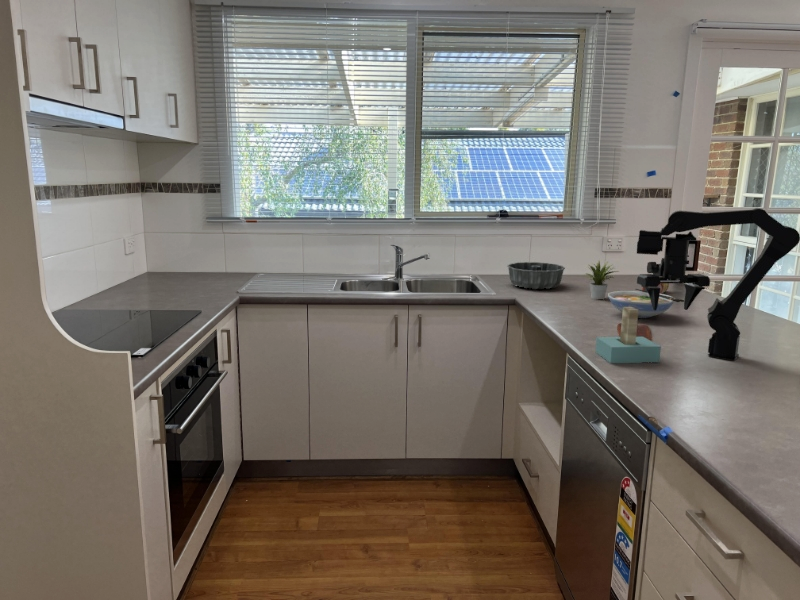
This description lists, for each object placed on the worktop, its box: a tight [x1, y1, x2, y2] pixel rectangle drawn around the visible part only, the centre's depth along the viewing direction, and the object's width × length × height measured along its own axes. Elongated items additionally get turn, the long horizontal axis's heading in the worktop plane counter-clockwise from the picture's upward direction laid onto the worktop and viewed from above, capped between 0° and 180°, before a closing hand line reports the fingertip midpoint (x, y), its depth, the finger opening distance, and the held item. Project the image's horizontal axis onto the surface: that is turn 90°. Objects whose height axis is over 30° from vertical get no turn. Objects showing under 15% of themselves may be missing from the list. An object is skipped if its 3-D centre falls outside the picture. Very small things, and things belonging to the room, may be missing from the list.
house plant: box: [585, 260, 620, 300], centre depth 234 cm, size 14×14×16 cm
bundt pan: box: [507, 261, 566, 290], centre depth 264 cm, size 26×26×10 cm
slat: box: [620, 307, 639, 345], centre depth 155 cm, size 4×2×14 cm, turn 5°
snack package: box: [641, 283, 670, 294], centre depth 245 cm, size 21×7×7 cm, turn 142°
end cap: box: [595, 336, 662, 364], centre depth 156 cm, size 10×14×4 cm
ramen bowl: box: [607, 288, 685, 319], centre depth 205 cm, size 25×23×8 cm
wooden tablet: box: [616, 322, 653, 342], centre depth 180 cm, size 27×10×2 cm, turn 160°
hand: (670, 309), depth 161 cm, fingers open, 9 cm apart
